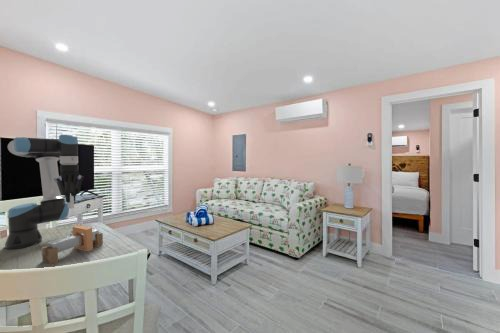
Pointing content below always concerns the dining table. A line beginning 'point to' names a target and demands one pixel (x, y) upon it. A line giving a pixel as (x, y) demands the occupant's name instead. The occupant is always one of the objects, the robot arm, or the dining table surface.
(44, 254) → the stand
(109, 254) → the dining table surface
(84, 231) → the peach rectangular loop
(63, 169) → the robot arm
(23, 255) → the dining table surface
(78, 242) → the grey long bar
